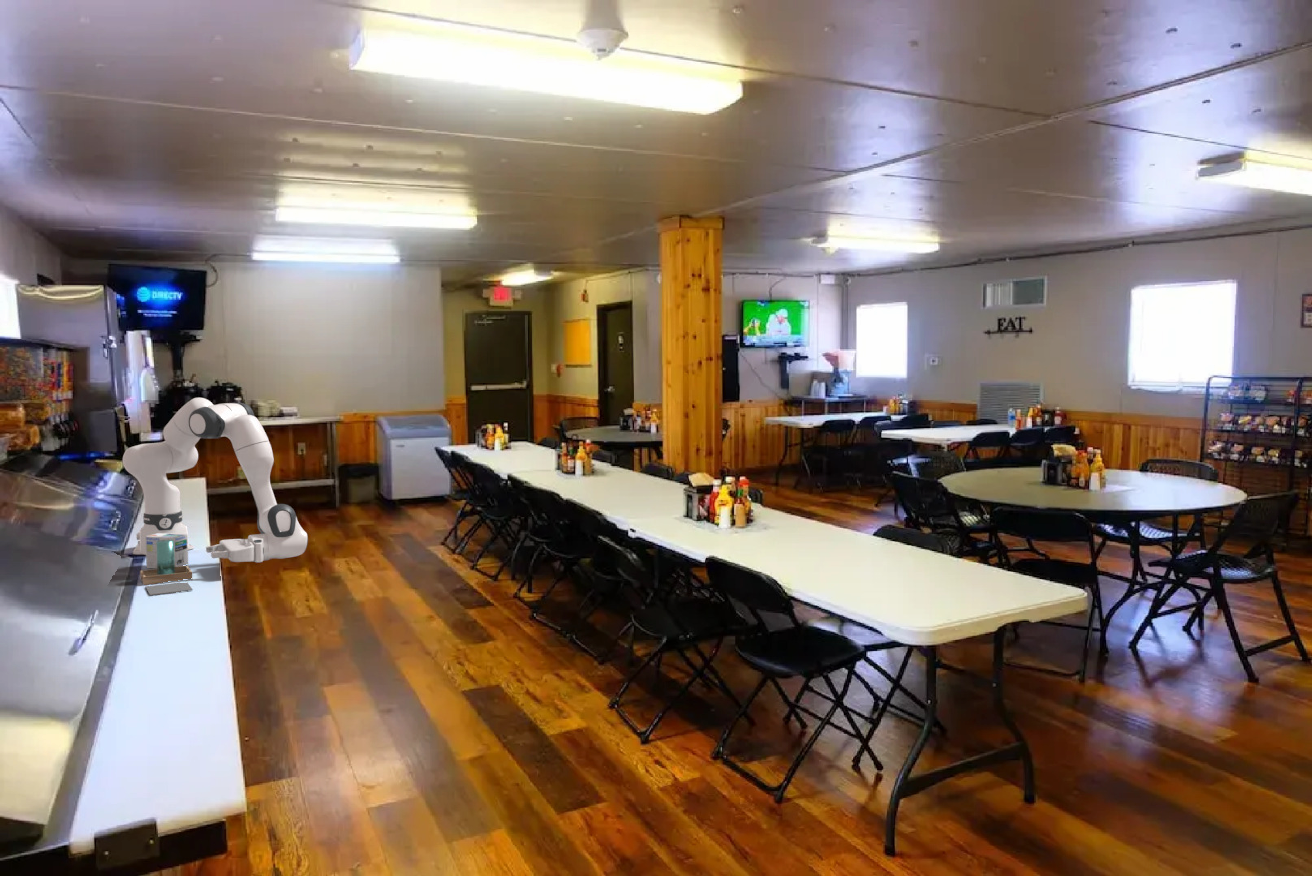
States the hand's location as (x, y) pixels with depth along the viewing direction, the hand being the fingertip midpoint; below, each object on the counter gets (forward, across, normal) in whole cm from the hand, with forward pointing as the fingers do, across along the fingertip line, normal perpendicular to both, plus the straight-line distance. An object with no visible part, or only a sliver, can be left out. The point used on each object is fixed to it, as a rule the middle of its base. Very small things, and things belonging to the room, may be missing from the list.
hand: (208, 552), depth 275 cm
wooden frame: (+12, 0, +7) cm, 14 cm away
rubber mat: (+13, +14, +7) cm, 20 cm away
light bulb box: (+10, -18, +7) cm, 22 cm away
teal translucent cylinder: (+12, 0, +7) cm, 14 cm away
